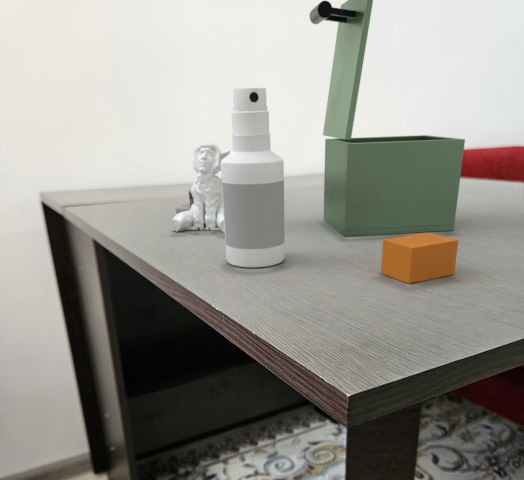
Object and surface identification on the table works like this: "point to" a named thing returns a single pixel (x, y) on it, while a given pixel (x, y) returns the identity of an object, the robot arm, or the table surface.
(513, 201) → the table surface
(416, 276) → the orange rectangular block
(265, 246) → the spray bottle
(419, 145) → the trash bin
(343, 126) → the bin lid
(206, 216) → the sitting furry creature
